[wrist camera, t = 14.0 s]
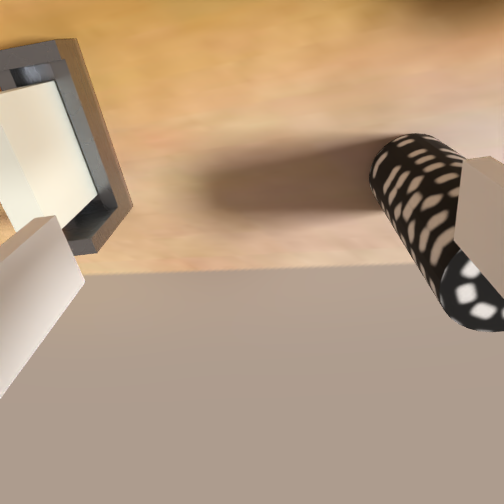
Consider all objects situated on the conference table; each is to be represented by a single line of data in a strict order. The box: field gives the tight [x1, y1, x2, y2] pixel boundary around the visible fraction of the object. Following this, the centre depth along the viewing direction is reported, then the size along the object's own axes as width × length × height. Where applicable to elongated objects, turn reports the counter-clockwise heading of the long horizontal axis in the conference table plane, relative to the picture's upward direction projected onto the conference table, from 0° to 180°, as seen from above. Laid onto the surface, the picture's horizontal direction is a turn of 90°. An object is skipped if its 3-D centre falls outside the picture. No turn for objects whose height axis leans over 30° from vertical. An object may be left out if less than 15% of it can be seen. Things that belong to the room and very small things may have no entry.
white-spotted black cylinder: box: [369, 134, 504, 332], centre depth 32 cm, size 8×8×20 cm
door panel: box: [0, 80, 99, 232], centre depth 35 cm, size 11×3×12 cm, turn 9°
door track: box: [0, 39, 133, 256], centre depth 36 cm, size 17×7×11 cm, turn 9°
